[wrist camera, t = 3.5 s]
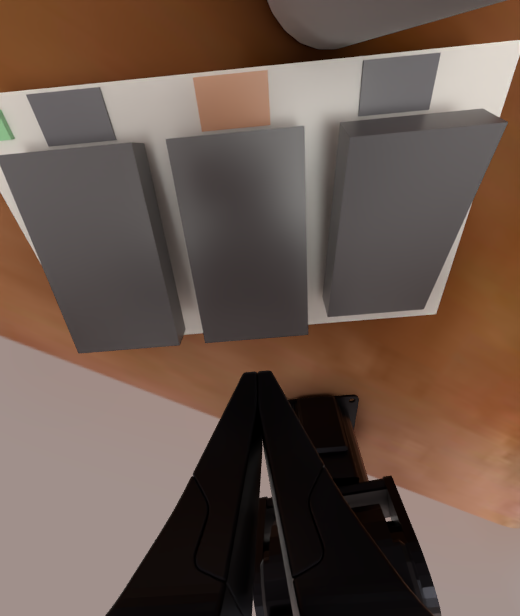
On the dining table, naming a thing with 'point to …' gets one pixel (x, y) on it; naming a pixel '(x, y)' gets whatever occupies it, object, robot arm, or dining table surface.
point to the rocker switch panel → (258, 116)
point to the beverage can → (361, 18)
